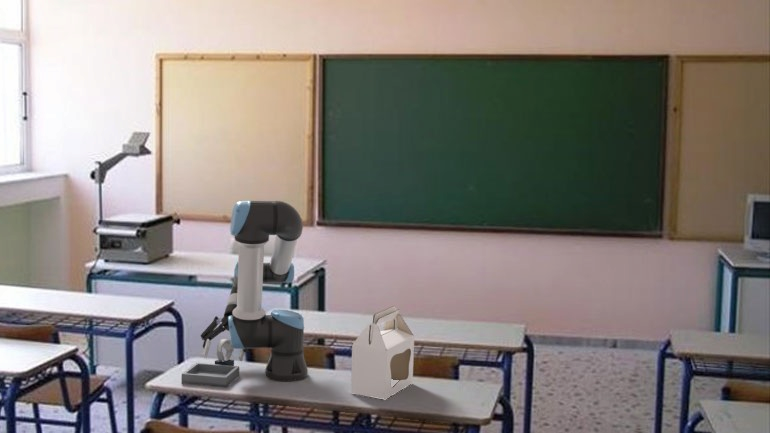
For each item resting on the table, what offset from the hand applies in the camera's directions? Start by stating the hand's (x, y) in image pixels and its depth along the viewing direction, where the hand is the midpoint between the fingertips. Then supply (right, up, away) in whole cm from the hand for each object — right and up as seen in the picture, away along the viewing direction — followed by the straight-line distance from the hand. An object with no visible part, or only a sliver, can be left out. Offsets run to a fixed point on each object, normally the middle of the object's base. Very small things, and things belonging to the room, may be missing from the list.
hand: (222, 357), depth 340 cm
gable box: (+58, -9, -15) cm, 60 cm away
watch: (0, -5, +3) cm, 5 cm away
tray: (-2, -6, -11) cm, 13 cm away
